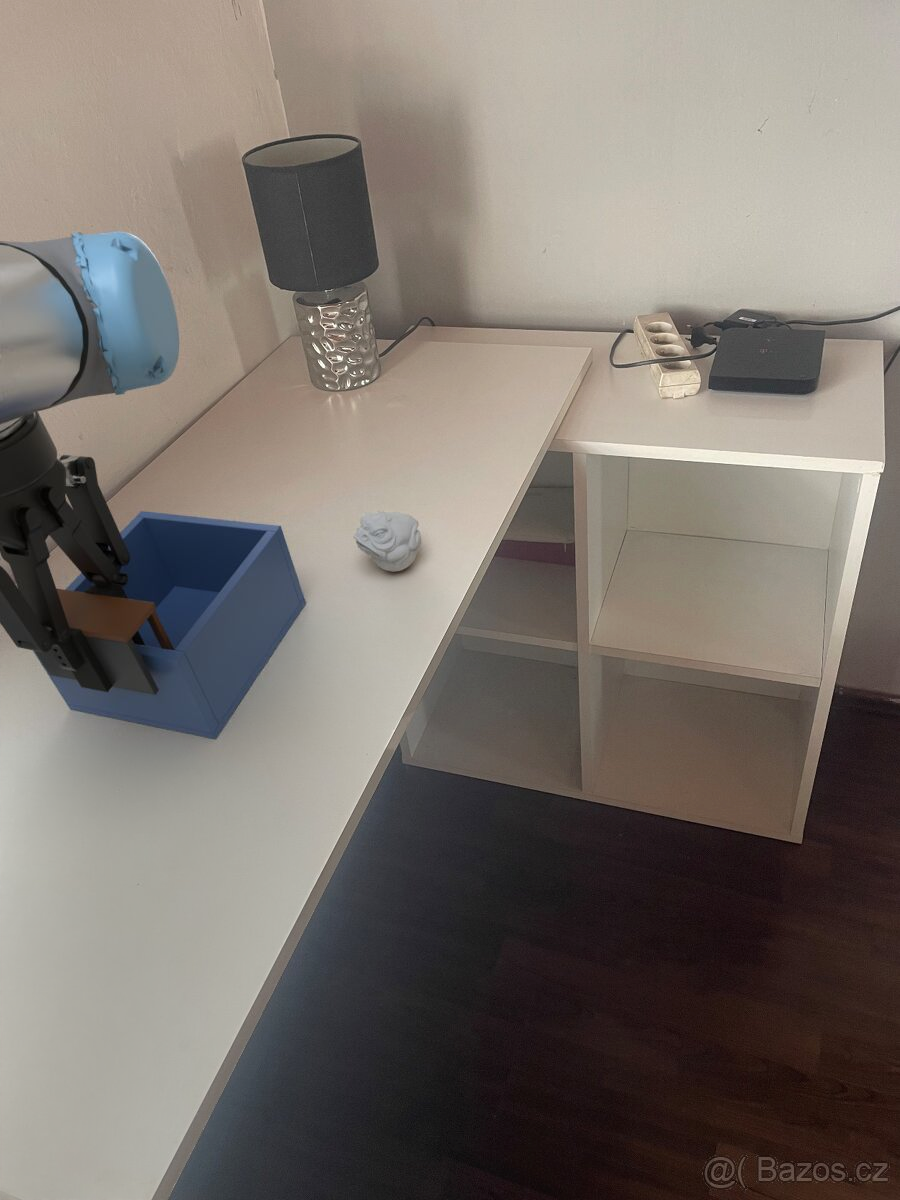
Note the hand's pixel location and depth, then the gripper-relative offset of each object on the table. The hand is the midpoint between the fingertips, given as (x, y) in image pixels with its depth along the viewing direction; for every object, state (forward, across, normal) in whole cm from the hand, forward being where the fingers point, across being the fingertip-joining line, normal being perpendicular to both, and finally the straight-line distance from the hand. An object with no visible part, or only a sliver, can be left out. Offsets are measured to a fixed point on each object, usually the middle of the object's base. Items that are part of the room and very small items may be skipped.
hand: (113, 665), depth 74 cm
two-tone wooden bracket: (0, 0, 0) cm, 0 cm away
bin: (+7, +8, 0) cm, 11 cm away
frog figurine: (+7, +24, -15) cm, 30 cm away
